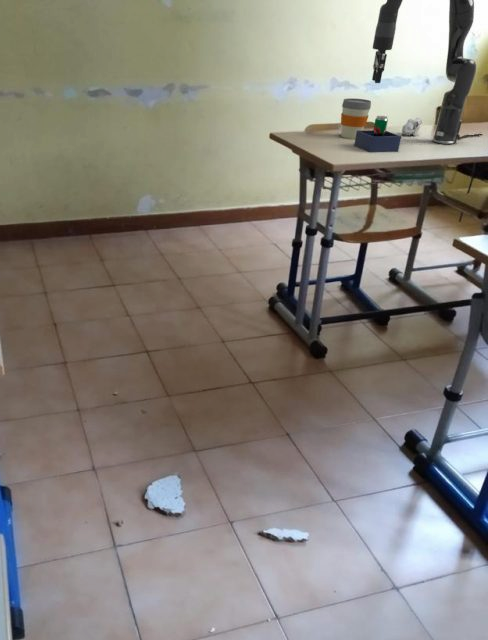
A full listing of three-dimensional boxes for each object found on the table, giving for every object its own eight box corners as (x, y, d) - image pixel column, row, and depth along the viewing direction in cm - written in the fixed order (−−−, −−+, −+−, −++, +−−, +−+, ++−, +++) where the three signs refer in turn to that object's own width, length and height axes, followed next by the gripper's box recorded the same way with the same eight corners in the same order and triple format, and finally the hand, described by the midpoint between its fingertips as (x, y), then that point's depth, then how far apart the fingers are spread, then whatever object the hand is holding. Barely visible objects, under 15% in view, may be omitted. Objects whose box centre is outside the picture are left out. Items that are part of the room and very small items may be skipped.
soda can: (382, 148, 255) (388, 118, 249) (370, 147, 256) (376, 117, 249) (381, 146, 259) (388, 116, 253) (369, 145, 260) (375, 115, 253)
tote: (381, 144, 265) (384, 130, 262) (398, 151, 254) (401, 136, 251) (354, 145, 262) (356, 130, 258) (369, 152, 251) (372, 137, 248)
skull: (395, 128, 283) (409, 108, 283) (400, 142, 289) (414, 122, 290) (410, 130, 278) (424, 109, 278) (415, 144, 284) (429, 123, 285)
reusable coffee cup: (340, 139, 272) (346, 102, 263) (334, 133, 282) (340, 97, 274) (368, 139, 272) (375, 103, 264) (360, 134, 283) (367, 98, 274)
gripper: (397, 37, 232) (387, 84, 241) (391, 34, 243) (382, 80, 253) (377, 36, 232) (368, 83, 242) (372, 34, 244) (364, 79, 253)
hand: (376, 81), depth 247 cm, fingers open, 8 cm apart
